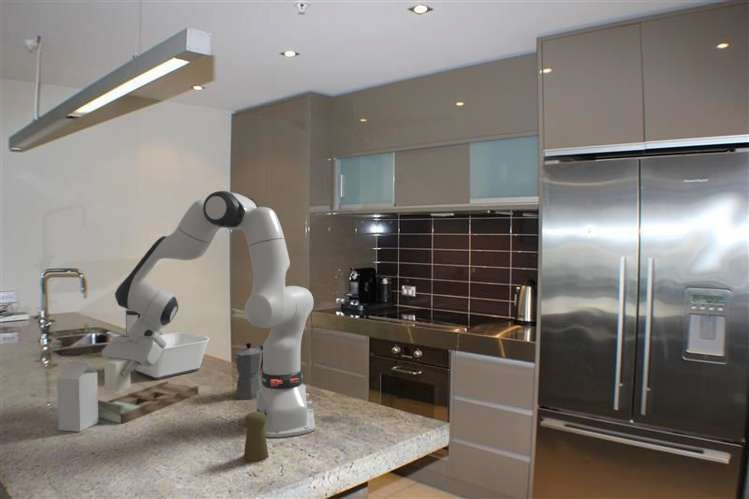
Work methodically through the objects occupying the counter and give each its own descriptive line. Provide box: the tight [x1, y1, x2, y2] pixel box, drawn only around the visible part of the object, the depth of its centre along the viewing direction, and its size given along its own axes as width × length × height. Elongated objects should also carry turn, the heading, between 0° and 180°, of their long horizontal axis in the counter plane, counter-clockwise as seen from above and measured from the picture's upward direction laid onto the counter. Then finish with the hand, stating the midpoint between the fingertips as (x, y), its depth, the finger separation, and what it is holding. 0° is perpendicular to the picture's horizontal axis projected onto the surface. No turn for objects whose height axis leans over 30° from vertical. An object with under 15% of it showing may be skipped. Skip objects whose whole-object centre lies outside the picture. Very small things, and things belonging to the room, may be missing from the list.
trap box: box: [98, 381, 199, 424], centre depth 165 cm, size 30×15×5 cm, turn 155°
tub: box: [134, 332, 210, 381], centre depth 204 cm, size 34×27×13 cm
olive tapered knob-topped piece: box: [243, 411, 269, 463], centre depth 125 cm, size 6×6×11 cm
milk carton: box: [56, 360, 99, 433], centre depth 146 cm, size 7×7×19 cm
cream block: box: [103, 358, 132, 393], centre depth 155 cm, size 5×5×8 cm
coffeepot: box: [234, 342, 263, 400], centre depth 174 cm, size 15×9×18 cm, turn 157°
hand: (115, 374), depth 155 cm, fingers closed on cream block, 5 cm apart
